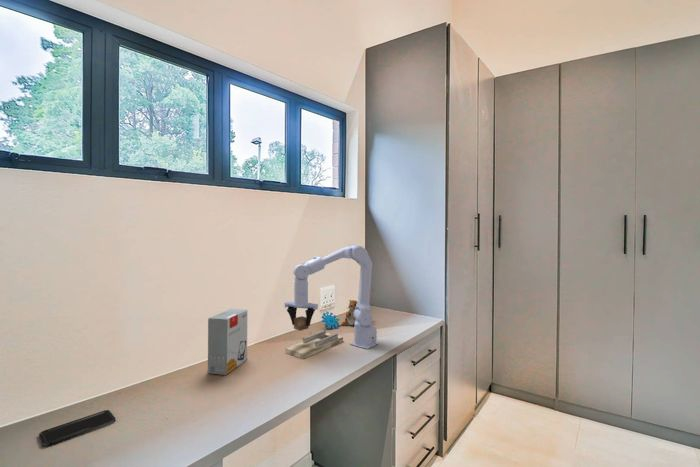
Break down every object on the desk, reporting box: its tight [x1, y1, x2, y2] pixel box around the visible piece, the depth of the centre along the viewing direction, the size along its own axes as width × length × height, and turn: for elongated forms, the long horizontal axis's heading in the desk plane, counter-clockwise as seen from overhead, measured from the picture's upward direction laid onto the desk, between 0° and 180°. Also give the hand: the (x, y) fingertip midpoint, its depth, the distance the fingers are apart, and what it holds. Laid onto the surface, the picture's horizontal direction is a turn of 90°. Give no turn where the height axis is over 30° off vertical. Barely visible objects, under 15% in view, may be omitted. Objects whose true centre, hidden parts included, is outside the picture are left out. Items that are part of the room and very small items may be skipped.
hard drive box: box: [207, 308, 248, 376], centre depth 131 cm, size 16×8×20 cm, turn 168°
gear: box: [321, 311, 341, 330], centre depth 181 cm, size 11×6×10 cm
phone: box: [38, 409, 116, 448], centre depth 91 cm, size 8×1×15 cm
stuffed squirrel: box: [340, 299, 358, 326], centre depth 186 cm, size 10×14×13 cm
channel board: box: [285, 330, 344, 360], centre depth 151 cm, size 10×26×4 cm, turn 143°
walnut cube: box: [293, 315, 309, 332], centre depth 148 cm, size 4×4×4 cm
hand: (301, 325), depth 148 cm, fingers closed on walnut cube, 6 cm apart
